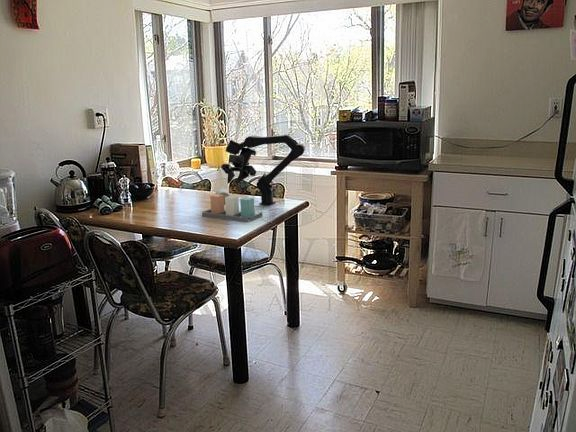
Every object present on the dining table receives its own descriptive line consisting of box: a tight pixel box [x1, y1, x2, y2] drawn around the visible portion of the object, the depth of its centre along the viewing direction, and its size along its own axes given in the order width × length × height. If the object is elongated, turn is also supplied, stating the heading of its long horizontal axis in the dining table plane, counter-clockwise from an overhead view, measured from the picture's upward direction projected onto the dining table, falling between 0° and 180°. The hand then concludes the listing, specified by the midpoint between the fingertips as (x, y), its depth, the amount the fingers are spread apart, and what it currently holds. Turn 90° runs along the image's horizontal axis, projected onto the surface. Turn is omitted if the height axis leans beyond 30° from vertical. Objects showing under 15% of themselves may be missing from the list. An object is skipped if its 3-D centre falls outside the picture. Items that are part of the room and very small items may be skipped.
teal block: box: [239, 196, 256, 220], centre depth 234 cm, size 4×5×9 cm
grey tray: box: [201, 208, 264, 223], centre depth 239 cm, size 14×30×3 cm, turn 59°
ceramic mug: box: [215, 187, 231, 204], centre depth 268 cm, size 11×8×8 cm
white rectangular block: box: [224, 195, 240, 216], centre depth 238 cm, size 4×5×9 cm
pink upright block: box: [209, 193, 226, 214], centre depth 243 cm, size 4×5×9 cm
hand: (232, 183), depth 251 cm, fingers open, 5 cm apart
